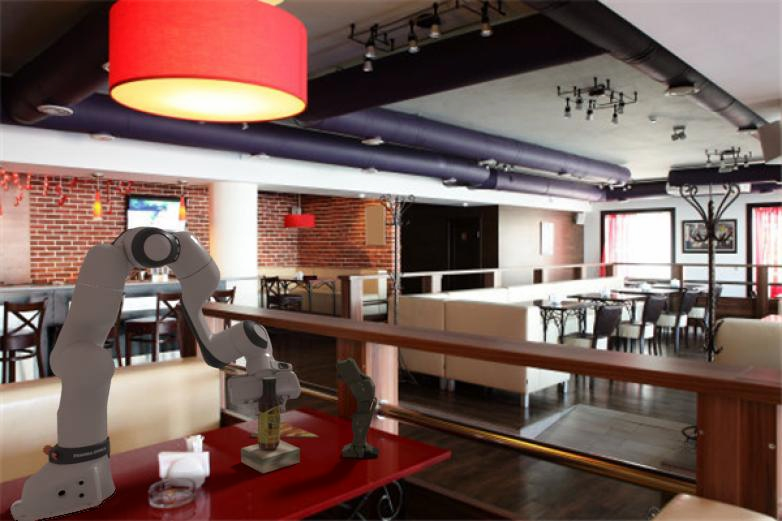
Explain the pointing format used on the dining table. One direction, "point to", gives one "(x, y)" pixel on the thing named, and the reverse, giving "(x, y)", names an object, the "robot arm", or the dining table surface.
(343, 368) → the mechanical leg
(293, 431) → the pizza slice
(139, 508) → the dining table surface
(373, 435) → the dining table surface
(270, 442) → the sauce bottle
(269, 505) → the dining table surface
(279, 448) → the grey flat block
